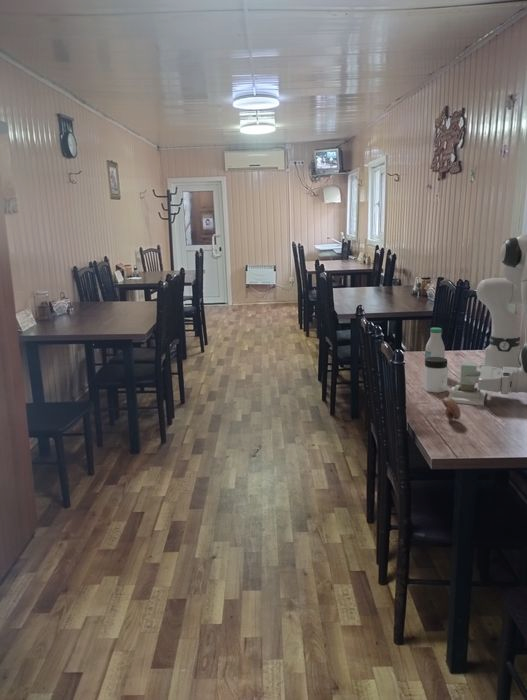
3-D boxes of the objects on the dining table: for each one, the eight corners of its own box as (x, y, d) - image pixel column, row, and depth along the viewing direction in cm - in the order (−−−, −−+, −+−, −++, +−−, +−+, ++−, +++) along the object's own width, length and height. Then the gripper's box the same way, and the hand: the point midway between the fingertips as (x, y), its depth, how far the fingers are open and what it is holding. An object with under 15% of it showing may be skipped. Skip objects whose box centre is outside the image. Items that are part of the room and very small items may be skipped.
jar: (435, 394, 209) (436, 363, 207) (418, 389, 216) (419, 358, 213) (451, 390, 214) (452, 359, 212) (433, 385, 221) (435, 355, 218)
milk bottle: (444, 374, 236) (447, 327, 232) (442, 378, 229) (444, 330, 225) (425, 372, 239) (428, 326, 235) (422, 376, 233) (424, 329, 228)
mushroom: (441, 416, 186) (443, 393, 184) (461, 418, 184) (463, 395, 182) (438, 423, 179) (440, 399, 178) (459, 426, 177) (460, 402, 175)
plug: (460, 390, 208) (462, 361, 206) (475, 392, 206) (477, 362, 204) (459, 394, 204) (461, 365, 201) (474, 395, 202) (476, 366, 199)
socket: (451, 389, 215) (452, 381, 214) (485, 392, 210) (486, 385, 210) (447, 401, 201) (447, 393, 200) (483, 405, 196) (484, 397, 195)
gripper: (508, 363, 207) (468, 360, 212) (507, 378, 189) (464, 374, 194) (507, 380, 208) (467, 376, 214) (506, 395, 190) (463, 391, 196)
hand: (465, 375), depth 204 cm, fingers closed on plug, 5 cm apart
